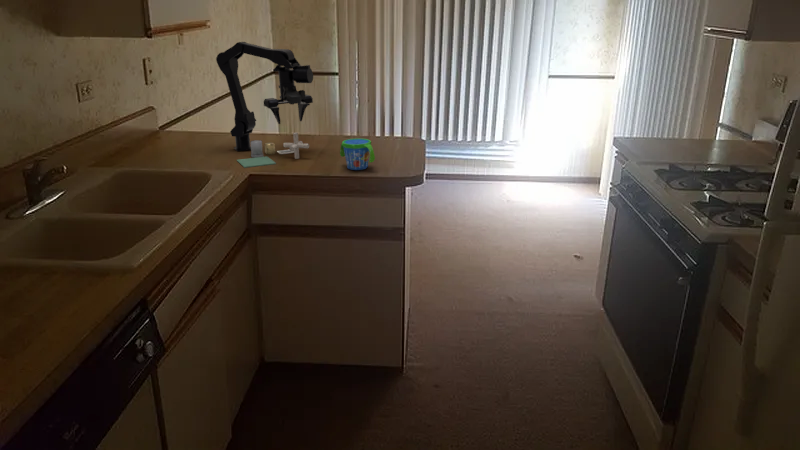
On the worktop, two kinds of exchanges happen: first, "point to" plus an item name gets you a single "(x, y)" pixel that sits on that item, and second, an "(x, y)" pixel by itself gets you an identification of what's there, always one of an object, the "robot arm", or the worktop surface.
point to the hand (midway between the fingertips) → (290, 122)
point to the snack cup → (357, 153)
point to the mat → (256, 162)
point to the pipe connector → (296, 145)
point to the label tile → (285, 151)
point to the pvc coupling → (256, 148)
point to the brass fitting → (269, 148)
